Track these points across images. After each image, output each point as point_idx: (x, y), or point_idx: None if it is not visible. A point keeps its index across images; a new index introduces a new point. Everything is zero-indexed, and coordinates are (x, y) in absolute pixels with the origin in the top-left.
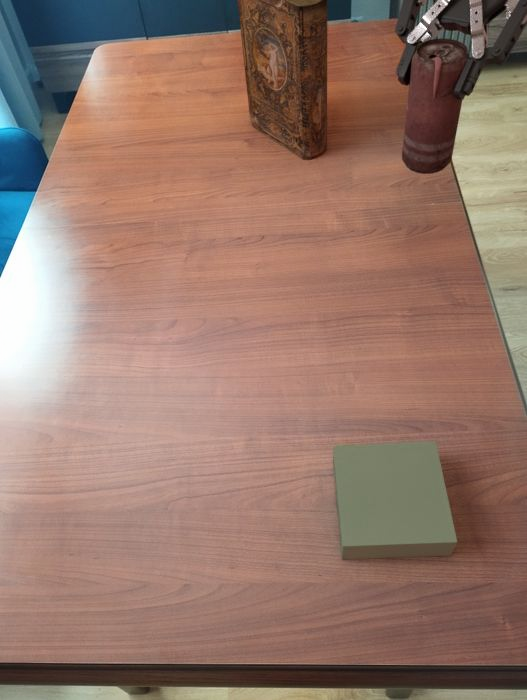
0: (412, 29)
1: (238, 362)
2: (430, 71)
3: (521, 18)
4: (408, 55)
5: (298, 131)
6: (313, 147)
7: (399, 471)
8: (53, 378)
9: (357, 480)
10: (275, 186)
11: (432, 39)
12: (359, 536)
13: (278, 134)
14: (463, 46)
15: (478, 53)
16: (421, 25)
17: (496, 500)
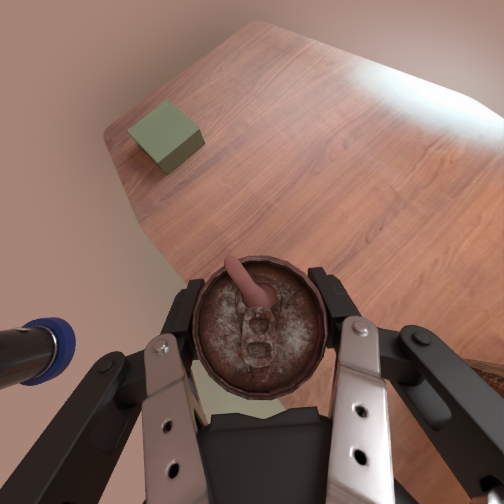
0: (406, 397)
1: (288, 152)
2: (245, 257)
3: None
4: (333, 296)
5: (468, 364)
6: None
7: (164, 139)
8: (363, 81)
9: (178, 123)
10: (415, 299)
11: (315, 367)
12: (163, 106)
13: (488, 364)
14: (225, 383)
15: (157, 342)
16: (367, 368)
17: (131, 177)
